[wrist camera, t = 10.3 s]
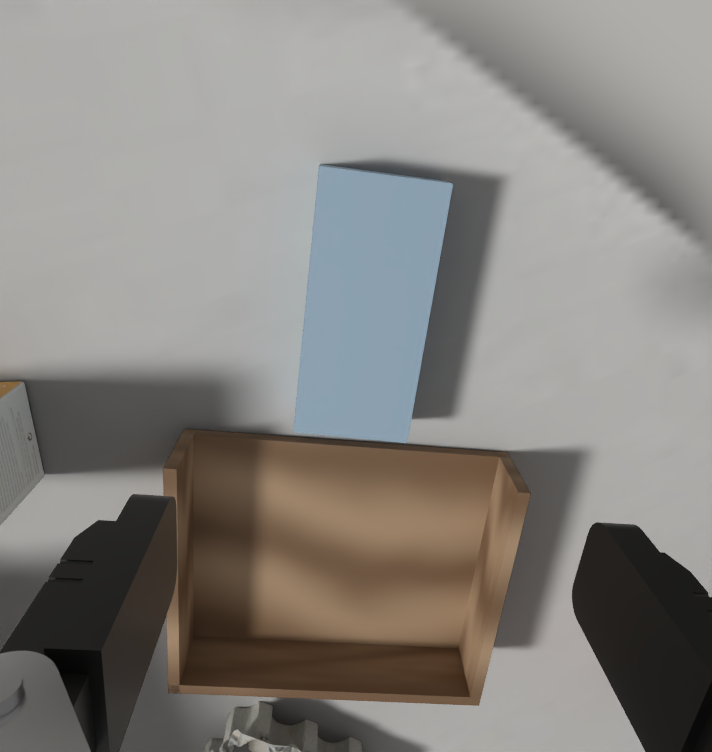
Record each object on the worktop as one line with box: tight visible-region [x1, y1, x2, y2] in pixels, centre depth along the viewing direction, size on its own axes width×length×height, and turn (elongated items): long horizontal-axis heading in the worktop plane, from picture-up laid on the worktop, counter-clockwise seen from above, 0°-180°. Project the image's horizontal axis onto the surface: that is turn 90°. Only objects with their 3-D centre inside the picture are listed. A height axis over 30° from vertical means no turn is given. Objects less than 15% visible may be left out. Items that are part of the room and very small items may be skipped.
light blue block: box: [293, 164, 453, 443], centre depth 27 cm, size 12×6×3 cm, turn 173°
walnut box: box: [163, 429, 531, 706], centre depth 31 cm, size 14×17×4 cm
